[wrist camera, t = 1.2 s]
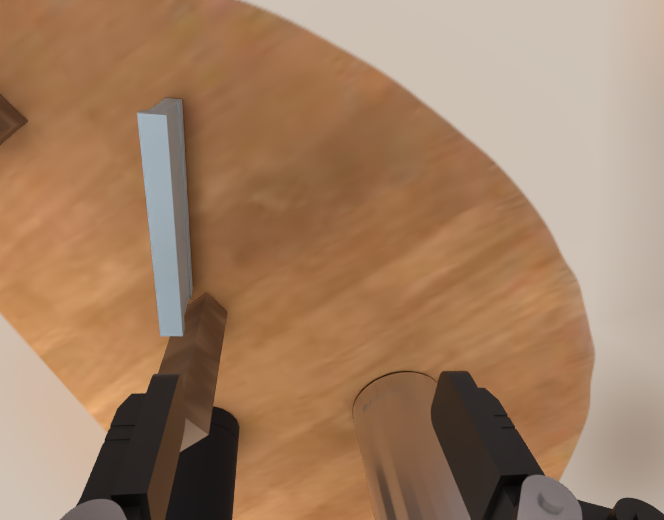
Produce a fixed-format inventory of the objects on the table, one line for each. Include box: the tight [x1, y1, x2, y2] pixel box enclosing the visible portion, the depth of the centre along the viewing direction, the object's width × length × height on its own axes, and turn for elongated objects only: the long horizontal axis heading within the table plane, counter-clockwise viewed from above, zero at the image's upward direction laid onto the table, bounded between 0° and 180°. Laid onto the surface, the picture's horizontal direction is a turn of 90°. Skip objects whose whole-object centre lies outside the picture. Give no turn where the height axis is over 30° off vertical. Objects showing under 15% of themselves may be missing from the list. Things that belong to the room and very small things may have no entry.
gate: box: [137, 98, 193, 336], centre depth 27 cm, size 14×1×6 cm, turn 174°
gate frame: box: [0, 95, 227, 452], centre depth 24 cm, size 21×3×13 cm, turn 34°
